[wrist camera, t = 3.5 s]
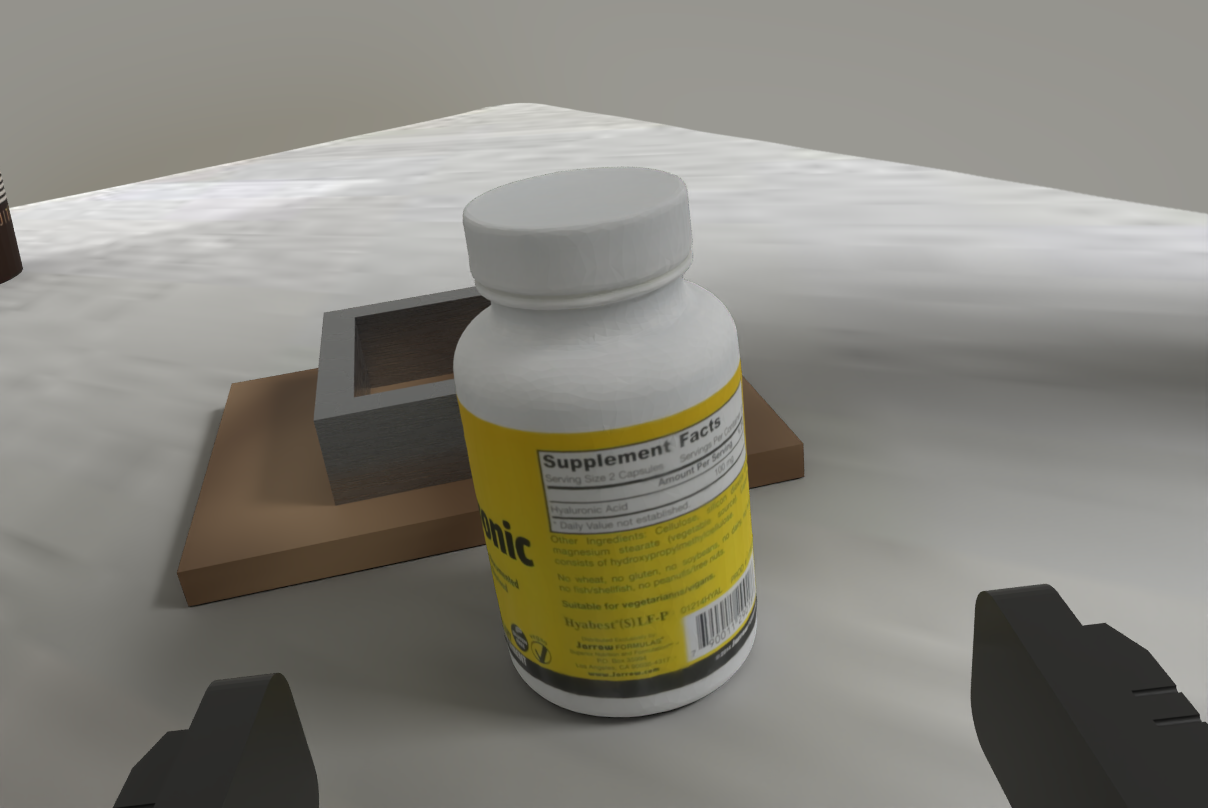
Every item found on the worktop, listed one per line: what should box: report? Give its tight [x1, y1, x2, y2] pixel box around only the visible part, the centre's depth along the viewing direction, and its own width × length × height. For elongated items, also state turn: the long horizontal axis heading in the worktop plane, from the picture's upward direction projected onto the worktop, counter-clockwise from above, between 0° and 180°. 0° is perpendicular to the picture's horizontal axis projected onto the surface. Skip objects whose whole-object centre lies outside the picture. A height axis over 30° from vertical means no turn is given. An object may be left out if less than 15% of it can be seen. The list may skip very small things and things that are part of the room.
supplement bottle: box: [453, 167, 757, 717], centre depth 20 cm, size 5×5×10 cm
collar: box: [314, 287, 491, 506], centre depth 31 cm, size 8×8×2 cm
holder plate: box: [177, 368, 804, 606], centre depth 32 cm, size 16×12×1 cm
